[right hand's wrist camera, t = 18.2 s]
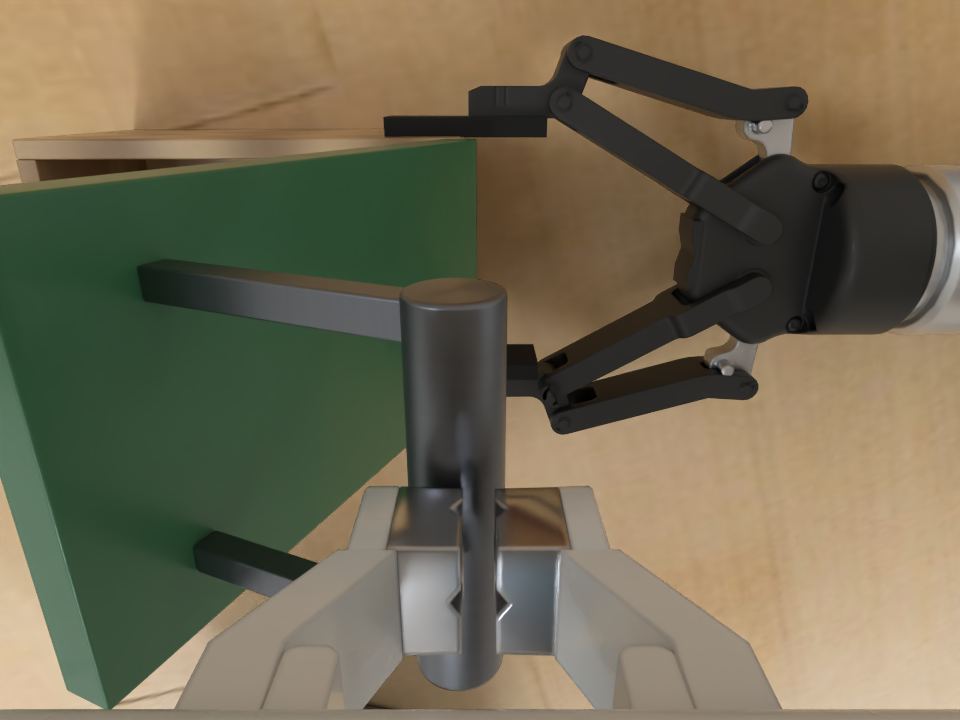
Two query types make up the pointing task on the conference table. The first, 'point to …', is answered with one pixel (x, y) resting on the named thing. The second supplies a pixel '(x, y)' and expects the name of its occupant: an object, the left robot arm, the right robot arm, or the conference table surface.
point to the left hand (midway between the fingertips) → (394, 251)
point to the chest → (180, 149)
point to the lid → (239, 386)
